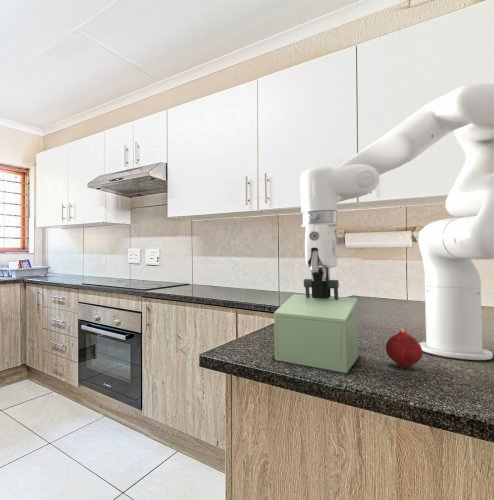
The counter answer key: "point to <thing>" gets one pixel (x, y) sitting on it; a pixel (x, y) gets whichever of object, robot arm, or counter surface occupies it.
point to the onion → (404, 349)
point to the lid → (318, 305)
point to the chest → (317, 342)
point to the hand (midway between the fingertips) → (321, 297)
